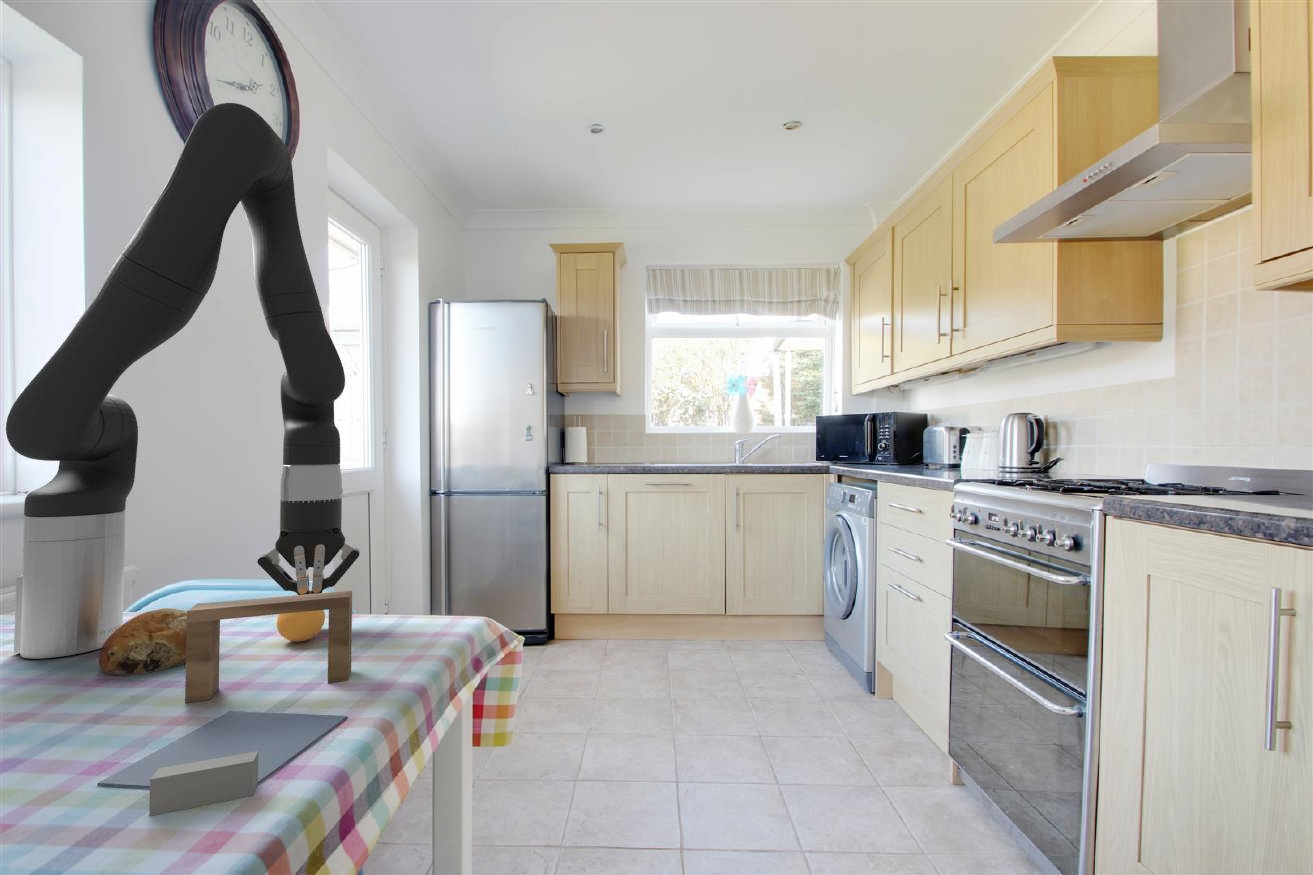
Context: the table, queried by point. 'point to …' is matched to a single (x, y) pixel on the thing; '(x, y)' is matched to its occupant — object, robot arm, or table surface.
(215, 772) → the rail
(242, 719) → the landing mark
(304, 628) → the ball
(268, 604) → the bridge
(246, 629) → the table surface
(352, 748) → the table surface
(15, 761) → the table surface
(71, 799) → the table surface
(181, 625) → the bread roll
